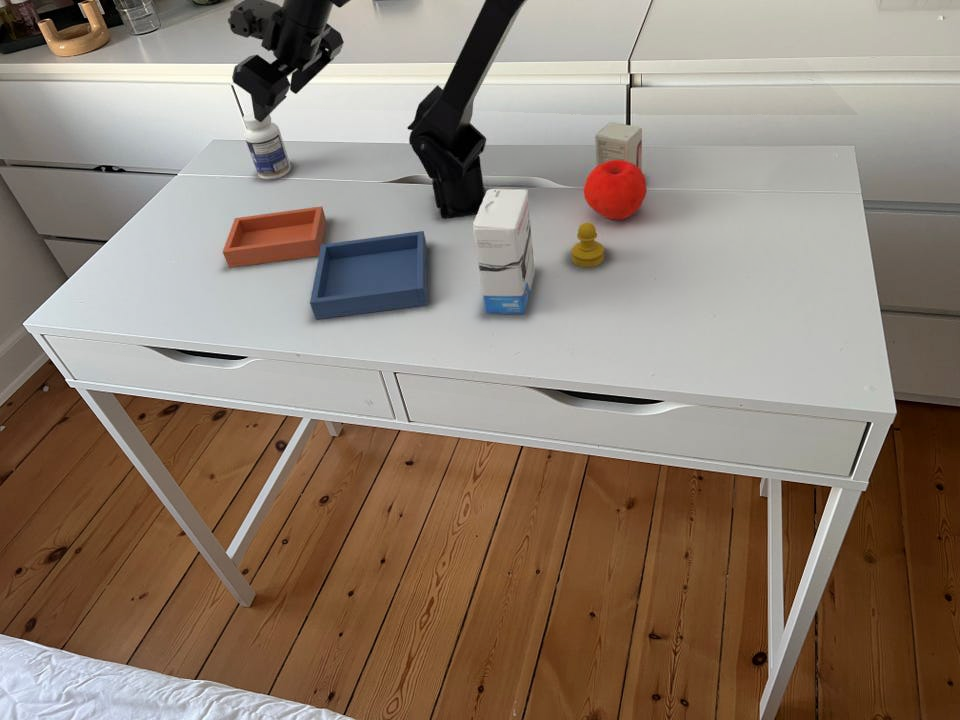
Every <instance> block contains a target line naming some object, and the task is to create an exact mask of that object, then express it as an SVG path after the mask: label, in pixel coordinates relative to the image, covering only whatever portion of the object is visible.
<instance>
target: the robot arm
mask: <svg viewBox="0 0 960 720" xmlns="http://www.w3.org/2000/svg"><path fill="white" fill-rule="evenodd" d="M351 1H352V0H283V3H282V6H280V4H278V3H276V2H271V1H269V0H241V2H239V3H238V4H235V5H234V6H233V9H232V10H230V12H229V13H230V16H229V18H227V23H228V25H229V28H230V30H231V32H232V33H233V34H234V35H237V36H240V37H243V38H247V39H248V38H250V37H251V38H253V39H257V40H262V41H261V43H260V44H261V45H260V47H262V48H264V49H265V50H266V51H267V52H270V51H272V55H273V56H274V58H276V59H275V60H273V61H272V62H271V63H270V62H269V61H267V60H266V59H264V58H263V57H262V56H260V55H259V54H252V55H248V56H247V57H246V58H245V59H243V60H242V61H240V62H239V63H237V64H236V65H235V66H234V67H233V72H232V76H231V79H232V83H233V84H235V85H237V86H238V87H239V88H241V89H242V90H243V91H245V92H246V93H247V94H249V95H250V99H251V105H252V111H253V112H254V118H255V119H256V120H258V121H259V122H262V121H263V120H264V119H265V118H266V117H267V116H268V115H269V114H270V115H271V113H272V112H273V111H274V110H276V108H278V106H280V105H281V104H282V103H283V101H284V100H285V99H287V94H288V92H289V90H290V91H291V92H292V93H293V94H295V95H297V94H298V93H299V92H301V90H302V89H303V88H305V87H306V86H307V85H308V84H309V83H310V82H311V81H312V80H313V79H314V78H316V76H318V74H319V73H321V72H322V71H323V70H324V69H325V68H326V67H327V66H328V65H329V64H331V62H333V61H334V60H335V58H336V57H337V56H338V55H339V54H340V53H341V52H342V48H343V46H344V44H345V42H344V40H343V36H342V34H341V32H340V31H338V30H336V29H335V28H334V27H333V26H332V25H331V24H329V23H328V21H329V19H330V15H331V12H332V9H333V6H336V7H337V8H342V7H344V6H345V5H346V4H348V3H349V2H351ZM527 1H528V0H484V3H483V4H482V7H481V9H480V11H479V13H478V15H477V17H476V20H475V21H474V24H473V26H472V27H471V30H470V32H469V34H468V36H467V39H466V40H465V42H464V45H463V47H462V48H461V51H460V53H459V55H458V57H457V58H456V61H455V63H454V65H453V68H452V70H451V71H450V74H449V75H448V78H447V79H446V82H445V84H444V86H443V88H442V87H441V86H440V85H438V84H437V85H436V86H435V87H434V88H433V89H432V90H431V91H430V92H429V93H428V94H427V95H426V96H425V97H424V98H423V99H422V100H421V102H419V103H418V106H417V108H416V112H415V115H414V119H413V120H412V122H410V124H409V125H408V126H407V128H406V129H407V130H408V131H411V132H410V133H409V137H408V143H409V145H410V146H411V148H412V151H413V152H414V154H415V155H416V156H417V157H418V159H419V161H420V163H421V165H422V167H423V169H424V170H425V172H426V174H427V176H428V178H429V179H431V183H432V190H433V195H434V200H435V205H436V208H437V209H440V211H439V213H440V217H441V218H442V219H447V218H455V217H462V216H469V215H477V213H478V211H479V208H480V206H481V204H482V202H483V199H484V196H485V194H486V187H485V186H484V185H485V184H484V179H483V171H482V164H481V157H480V155H481V154H482V153H483V152H484V151H485V149H486V148H485V147H486V143H487V137H486V136H485V135H484V134H483V133H482V132H481V131H479V129H478V128H476V127H475V126H474V125H473V124H472V123H471V120H472V118H473V114H474V113H473V112H474V101H475V98H476V96H477V95H478V94H477V93H479V90H480V88H481V86H482V85H483V83H484V81H485V78H486V77H487V75H488V73H489V71H490V69H491V67H492V66H493V64H494V62H495V60H496V58H497V56H498V54H499V51H501V49H502V46H503V44H504V43H505V41H506V39H507V37H508V35H509V33H510V31H511V29H512V28H513V25H514V23H515V21H516V20H517V17H518V15H519V14H520V12H521V10H522V8H523V6H524V5H525V4H526V3H527ZM289 76H291V78H290V81H289V78H288V77H289Z"/></svg>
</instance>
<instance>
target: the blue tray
mask: <svg viewBox="0 0 960 720" xmlns="http://www.w3.org/2000/svg"><path fill="white" fill-rule="evenodd" d="M310 296H311V297H310V301H309V304H310V307H311V310H312V313H313V317H314V319H315V320H323V319H331V318H338V317H346V316H347V317H348V316H353V315H360V314H369V313H376V312H377V313H378V312H384V311H391V310H392V311H393V310H399V309H400V310H401V309H406V308H407V309H408V308H414V307H423V306H428V245H427V240H426V236H425V231H424V230H420V231H419V230H418V231H412V232H404V233H398V234H397V233H396V234H390V235H389V234H388V235H383V236H382V235H381V236H374V237H367V238H360V239H353V240H344V241H338V242H330V243H329V242H328V243H323V244H321V248H320V253H319V256H318V259H317V264H316V269H315V275H314V280H313V286H312V290H311V295H310Z"/></svg>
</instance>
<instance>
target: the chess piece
mask: <svg viewBox="0 0 960 720" xmlns="http://www.w3.org/2000/svg"><path fill="white" fill-rule="evenodd" d="M596 228H597V227H596V226H595V224H593V223H592V222H589V221H588V222H583V223H581V224H580V225H579V227H578V229H577V234H576V239H578V240H580V241H579V242H577V243H575V244H574V245H573V246H572V247H571V260H572V263H573V264H574V265H575V266H578V267H580V268H594V267H597V266H599V265H601V264H602V263H603V262H604V260H605V252H604V251H605V248H604V245H603V244H602V243H601V242H599V241H596V239H597V237H598V233H597V229H596Z"/></svg>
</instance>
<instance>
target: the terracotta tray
mask: <svg viewBox="0 0 960 720" xmlns="http://www.w3.org/2000/svg"><path fill="white" fill-rule="evenodd" d="M327 222H328V221H327V218H326V213H325V210H324V207H323V205H321V206H314V207H313V206H312V207H308V208H307V207H305V208H298V209H292V210H291V209H290V210H286V211H285V210H283V211H278V212H277V211H276V212H269V213H261V214H256V215H247V216H241V217H235V218H234V219H233V222H232V225H231V227H230V230H229V233H228V236H227V239H226V241H225V244H224V247H223V249H222V254H223V256H224V259H225V261H226V264H227V266H228V268H229V269H230V268H238V267H247V266H253V265H260V264H268V263H275V262H282V261H290V260H291V261H292V260H298V259H299V260H300V259H306V258H313V257H319V253H320V248H321V244H324V239H325V234H326V229H327V228H326V227H327Z"/></svg>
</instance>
